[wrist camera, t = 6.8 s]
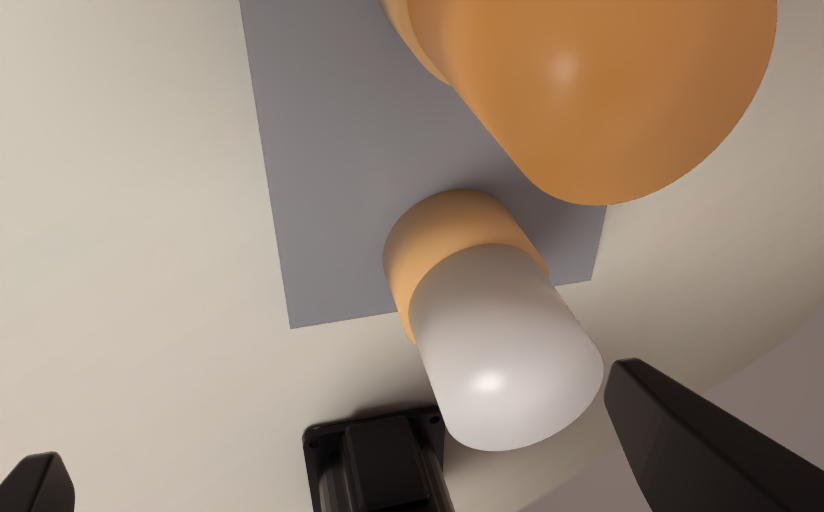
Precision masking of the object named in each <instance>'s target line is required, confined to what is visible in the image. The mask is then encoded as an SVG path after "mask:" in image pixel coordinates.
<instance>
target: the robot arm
mask: <svg viewBox="0 0 824 512" xmlns="http://www.w3.org/2000/svg"><path fill="white" fill-rule="evenodd" d="M604 402H605V406H606V409H607V411H608V414H609V416H610V418H611V421H612V423H613V426H614V428H615V430H616V433H617V435H618V438H619V440H620V443H621V445H622V447H623V450H624V452H625V455H626V457H627V460H628V462H629V464H630V467H631V469H632V471H633V474H634V476H635V478H636V480H637V483H638V485H639V487H640V489H641V491H642V493H643V495H644V496H645V498H646V500H647V502H648V504H649V506H650V507H651V509H652V511H653V512H824V471H823V470H822V469H820V468H819V467H817V466H815V465H814V464H812V463H810V462H809V461H807V460H805V459H804V458H802V457H800V456H799V455H797V454H795V453H794V452H792V451H790V450H789V449H787V448H785V447H784V446H782V445H781V444H779V443H777V442H776V441H774V440H772V439H771V438H769V437H767V436H766V435H764V434H762V433H761V432H759V431H757V430H756V429H754V428H753V427H751V426H749V425H748V424H746V423H744V422H743V421H741V420H739V419H738V418H736V417H734V416H733V415H731V414H729V413H728V412H726V411H724V410H723V409H721V408H720V407H718V406H716V405H715V404H713V403H711V402H710V401H708V400H706V399H705V398H703V397H701V396H700V395H698V394H697V393H695V392H693V391H692V390H690V389H688V388H687V387H685V386H683V385H682V384H680V383H678V382H677V381H675V380H673V379H672V378H670V377H669V376H667V375H665V374H664V373H662V372H660V371H659V370H657V369H655V368H654V367H652V366H650V365H649V364H647V363H645V362H644V361H642V360H640V359H638V358H628V359H622V360H617V361H615V362H614V363H613V364H612V366H611V370H610V373H609V377H608V380H607V383H606V387H605V390H604ZM444 434H445V422H444V419H443V416H442V414H441V411H440V408H439V406H430V407H425V408H420V409H415V410H410V411H405V412H399V413H394V414H389V415H384V416H379V417H374V418H369V419H364V420H358V421H353V422H348V423H343V424H338V425H333V426H328V427H323V428H317V429H312V430H309V431H307V432H306V433H304V435H303V436H302V443H303V450H304V456H305V462H306V468H307V474H308V480H309V486H310V492H311V499H312V505H313V511H314V512H455V510H454V507H453V504H452V501H451V498H450V495H449V492H448V489H447V486H446V483H445V480H444V477H443V454H444ZM74 506H75V491H74V486H73V483H72V481H71V479H70V476H69V474H68V472H67V470H66V467H65V465H64V463H63V461H62V459H61V457H60V455H59V454H58V453H57V452H46V453H39V454H33V455H29V456H26V457H25V458H23V459H22V460H21V461H20V462H19V463H18V464H17V465H16V467H15V468H14V469H13V470H12V471H11V472H10V474H9V475H8V476H7V477H6V478H5V479H4V480H3V482H2V483H1V484H0V512H74Z"/></svg>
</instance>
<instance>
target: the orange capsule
mask: <svg viewBox="0 0 824 512" xmlns="http://www.w3.org/2000/svg"><path fill="white" fill-rule="evenodd" d="M407 6H408V13H409V18H410V23H411V26H412V29H413V32H414V35H415V37H416V39H417V41H418V43H419V45H420V47H421V48H422V50H423V51H424V53H425V54H426V56H427V57H428V58H429V59H430V60H431V62H432V63H433V64H434V65H435V66H436V68H437V69H438V70H439V71H440V73H441V74H442V75H443V76H444V77H445V79H446V80H447V81H448V82H449V84H450V85H451V86H452V87H453V88H454V90H455V91H456V92H457V93H458V94H459V96H460V97H461V98H462V99H463V101H464V102H465V103H466V104H467V105H468V107H469V108H470V109H471V110H472V112H473V113H474V114H475V115H476V116H477V118H478V119H479V120H480V121H481V123H482V124H483V125H484V126H485V127H486V129H487V130H488V131H489V132H490V133H491V135H492V136H493V137H494V138H495V140H496V141H497V142H498V143H499V144H500V146H501V147H502V148H503V149H504V151H505V152H506V153H507V154H508V155H509V157H510V158H511V159H512V160H513V161H514V163H515V164H516V165H517V166H518V168H519V169H520V170H521V171H522V172H523V173H524V175H525V176H526V177H527V178H528V179H529V180H530V181H531V182H532V183H533V184H534V185H536V186H537V187H538V188H540V189H541V190H542V191H544V192H546V193H548V194H549V195H551V196H553V197H555V198H558V199H561V200H563V201H566V202H570V203H575V204H580V205H593V206H600V205H613V204H618V203H623V202H628V201H631V200H634V199H637V198H641V197H644V196H646V195H648V194H651V193H653V192H655V191H658V190H660V189H662V188H664V187H665V186H667V185H669V184H671V183H673V182H674V181H676V180H677V179H679V178H680V177H682V176H683V175H685V174H686V173H688V172H689V171H691V170H692V169H693V168H694V167H696V166H697V165H698V164H699V163H701V162H702V161H703V160H704V159H705V158H706V157H707V156H708V155H709V154H711V153H712V152H713V151H714V150H715V149H716V148H717V147H718V146H719V145H720V143H721V142H722V141H723V140H724V139H725V138H726V137H727V136H728V134H729V133H730V132H731V131H732V129H733V128H734V127H735V125H736V124H737V123H738V121H739V120H740V119H741V117H742V116H743V114H744V112H745V111H746V109H747V108H748V106H749V104H750V103H751V101H752V99H753V97H754V95H755V93H756V91H757V89H758V87H759V85H760V83H761V81H762V78H763V76H764V73H765V71H766V68H767V66H768V62H769V59H770V55H771V52H772V48H773V43H774V38H775V32H776V21H777V1H776V0H407Z"/></svg>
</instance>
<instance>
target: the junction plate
mask: <svg viewBox="0 0 824 512" xmlns="http://www.w3.org/2000/svg"><path fill="white" fill-rule="evenodd" d="M239 1H240V7H241V14H242V20H243V27H244V33H245V39H246V46H247V52H248V59H249V65H250V72H251V78H252V85H253V91H254V97H255V104H256V110H257V117H258V123H259V130H260V136H261V143H262V149H263V155H264V162H265V168H266V175H267V181H268V188H269V194H270V200H271V207H272V213H273V220H274V226H275V233H276V239H277V246H278V252H279V258H280V265H281V271H282V278H283V284H284V291H285V297H286V304H287V310H288V316H289V323H290V329H294V328H300V327H306V326H312V325H318V324H325V323H331V322H337V321H343V320H349V319H355V318H362V317H368V316H374V315H380V314H386V313H392V312H399V315H400V318H401V321H402V324H403V327H404V330H405V332H406V334H407V336H408V337H409V339H410V340H411V341H412V343H413V344H414V345H416V346H417V347H418V350H419V353H420V356H421V358H422V361H423V364H424V367H425V369H426V372H427V375H428V378H429V380H430V383H431V386H432V389H433V392H434V394H435V397H436V400H437V403H438V405H439V408H440V411H441V414H442V416H443V419H444V422H445V425H446V427H447V429H448V431H449V433H450V434H451V435H452V436H453V437H454V438H455V439H456V440H457V441H458V442H460V443H462V444H463V445H465V446H468V447H471V448H474V449H478V450H484V451H505V450H512V449H517V448H521V447H525V446H528V445H531V444H534V443H537V442H539V441H542V440H544V439H546V438H548V437H550V436H552V435H554V434H556V433H557V432H559V431H560V430H562V429H564V428H565V427H566V426H568V425H569V424H570V423H572V422H573V421H574V420H575V419H576V418H578V417H579V416H580V415H581V414H582V413H583V412H584V411H585V410H586V408H587V407H588V406H589V405H590V403H591V402H592V401H593V399H594V398H595V396H596V394H597V392H598V390H599V388H600V386H601V383H602V379H603V374H604V365H603V360H602V357H601V355H600V352H599V351H598V350H597V348H596V347H595V345H594V344H593V342H592V341H591V339H590V338H589V337H588V335H587V334H586V332H585V331H584V329H583V328H582V326H581V325H580V324H579V322H578V321H577V319H576V318H575V316H574V315H573V313H572V312H571V311H570V309H569V308H568V306H567V305H566V303H565V302H564V300H563V299H562V298H561V296H560V295H559V293H558V292H557V290H556V289H555V287H554V286H559V285H565V284H571V283H577V282H583V281H589V280H591V277H592V272H593V268H594V263H595V259H596V254H597V249H598V245H599V240H600V236H601V231H602V226H603V222H604V217H605V212H606V208H607V205H600V206H593V205H580V204H575V203H570V202H566V201H563V200H561V199H558V198H555V197H553V196H551V195H549V194H548V193H546V192H544V191H542V190H541V189H540V188H538V187H537V186H536V185H534V184H533V183H532V182H531V181H530V180H529V179H528V178H527V177H526V176H525V175H524V173H523V172H522V171H521V170H520V169H519V168H518V166H517V165H516V164H515V163H514V161H513V160H512V159H511V158H510V157H509V155H508V154H507V153H506V152H505V151H504V149H503V148H502V147H501V146H500V144H499V143H498V142H497V141H496V140H495V138H494V137H493V136H492V135H491V133H490V132H489V131H488V130H487V129H486V127H485V126H484V125H483V124H482V123H481V121H480V120H479V119H478V118H477V116H476V115H475V114H474V113H473V112H472V110H471V109H470V108H469V107H468V105H467V104H466V103H465V102H464V101H463V99H462V98H461V97H460V96H459V94H458V93H457V92H456V91H455V90H454V88H453V87H452V86H451V85H450V84H449V82H448V81H447V80H446V79H445V77H444V76H443V75H442V74H441V73H440V71H439V70H438V69H437V68H436V66H435V65H434V64H433V63H432V62H431V60H430V59H429V58H428V57H427V56H426V54H425V53H424V51H423V50H422V48H421V47H420V45H419V43H418V41H417V39H416V37H415V35H414V32H413V29H412V26H411V23H410V18H409V13H408V6H407V0H239Z"/></svg>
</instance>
